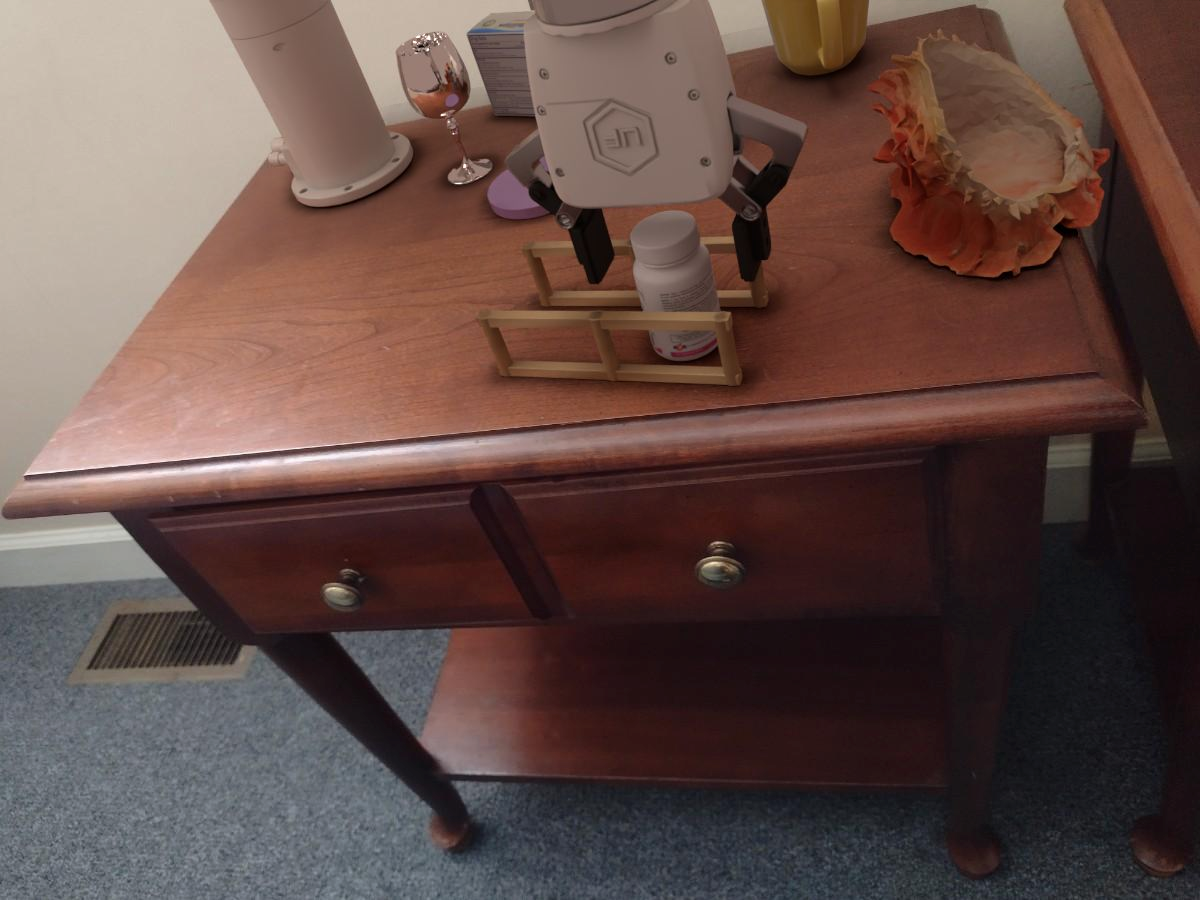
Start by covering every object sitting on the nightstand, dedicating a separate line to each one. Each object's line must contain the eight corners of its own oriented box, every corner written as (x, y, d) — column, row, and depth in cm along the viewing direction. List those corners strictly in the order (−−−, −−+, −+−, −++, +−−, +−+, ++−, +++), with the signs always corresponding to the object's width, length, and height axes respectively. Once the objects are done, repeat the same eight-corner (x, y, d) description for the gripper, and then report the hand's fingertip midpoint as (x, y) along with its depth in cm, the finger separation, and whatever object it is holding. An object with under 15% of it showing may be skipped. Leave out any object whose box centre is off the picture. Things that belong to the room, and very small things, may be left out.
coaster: (474, 221, 77) (470, 211, 76) (514, 166, 82) (511, 156, 82) (568, 217, 73) (565, 207, 72) (604, 160, 79) (601, 149, 78)
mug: (770, 46, 86) (756, -72, 79) (881, 29, 83) (877, -96, 76) (754, 114, 78) (737, -11, 70) (877, 98, 74) (873, -36, 67)
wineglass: (475, 190, 81) (425, 59, 73) (429, 186, 84) (375, 59, 76) (511, 157, 84) (466, 27, 76) (465, 154, 87) (417, 29, 79)
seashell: (888, 310, 58) (1152, 275, 53) (876, 166, 50) (1184, 110, 45) (871, 160, 68) (1089, 120, 64) (859, 22, 61) (1106, -35, 56)
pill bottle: (738, 323, 58) (718, 210, 52) (702, 370, 56) (676, 257, 50) (676, 311, 61) (650, 202, 55) (639, 355, 58) (608, 246, 53)
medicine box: (579, 97, 89) (555, 8, 83) (555, 119, 87) (528, 30, 81) (518, 96, 93) (490, 11, 88) (493, 117, 91) (464, 31, 85)
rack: (500, 377, 60) (474, 318, 57) (545, 298, 66) (525, 240, 62) (739, 387, 54) (727, 321, 50) (769, 298, 59) (759, 234, 56)
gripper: (419, 29, 44) (527, 308, 55) (767, -26, 37) (808, 307, 48) (481, -30, 48) (569, 239, 60) (801, -89, 41) (830, 229, 53)
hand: (675, 269), depth 54 cm, fingers open, 9 cm apart
